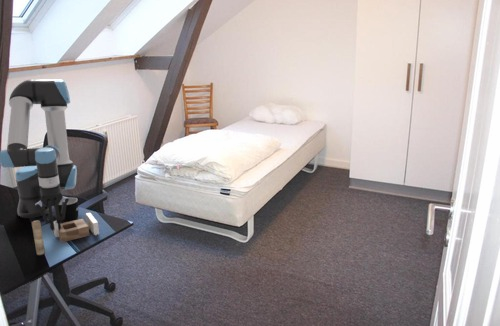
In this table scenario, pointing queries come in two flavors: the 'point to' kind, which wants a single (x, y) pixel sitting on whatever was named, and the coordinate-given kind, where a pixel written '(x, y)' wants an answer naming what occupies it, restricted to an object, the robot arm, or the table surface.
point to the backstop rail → (92, 223)
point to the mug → (70, 209)
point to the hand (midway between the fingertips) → (57, 235)
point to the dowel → (38, 237)
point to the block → (73, 230)
